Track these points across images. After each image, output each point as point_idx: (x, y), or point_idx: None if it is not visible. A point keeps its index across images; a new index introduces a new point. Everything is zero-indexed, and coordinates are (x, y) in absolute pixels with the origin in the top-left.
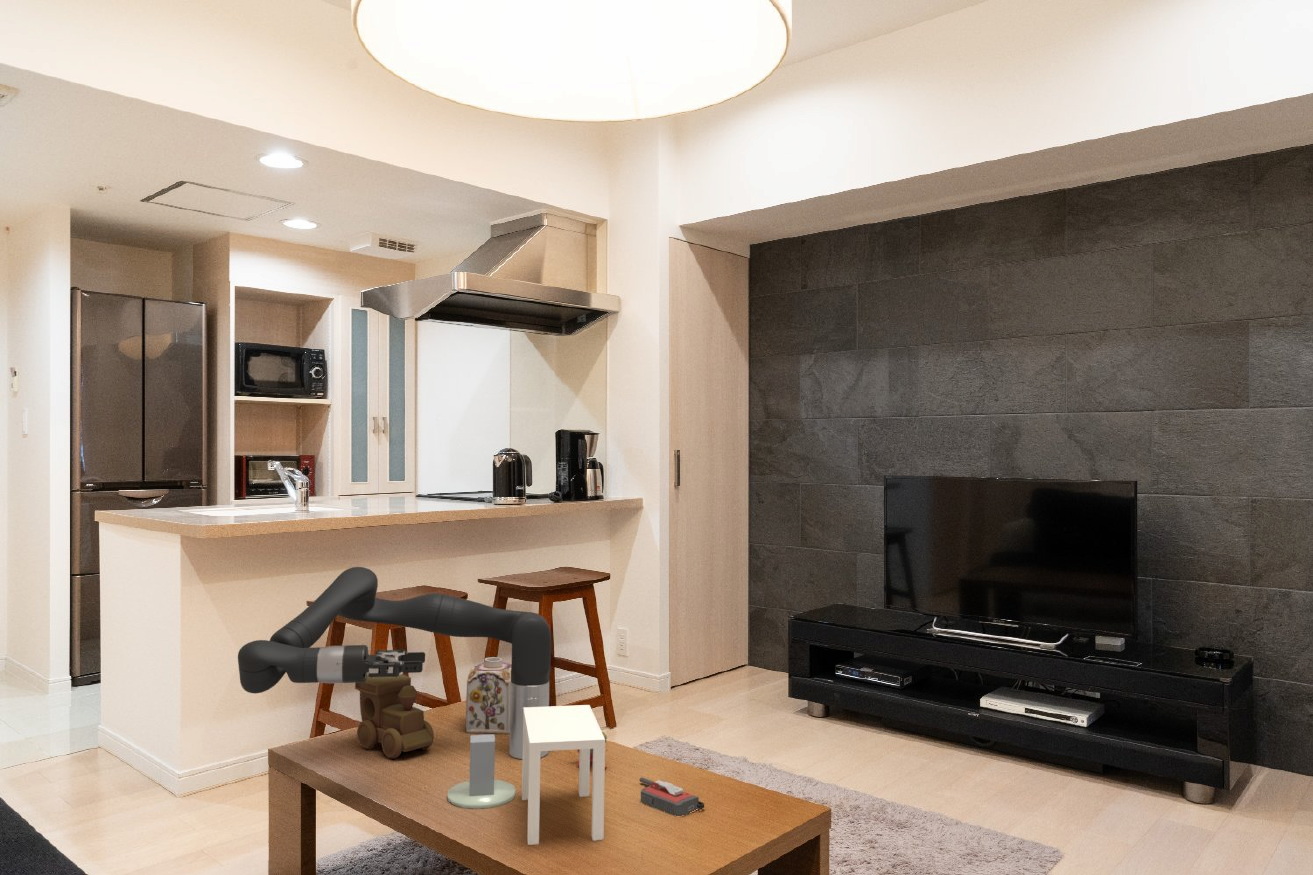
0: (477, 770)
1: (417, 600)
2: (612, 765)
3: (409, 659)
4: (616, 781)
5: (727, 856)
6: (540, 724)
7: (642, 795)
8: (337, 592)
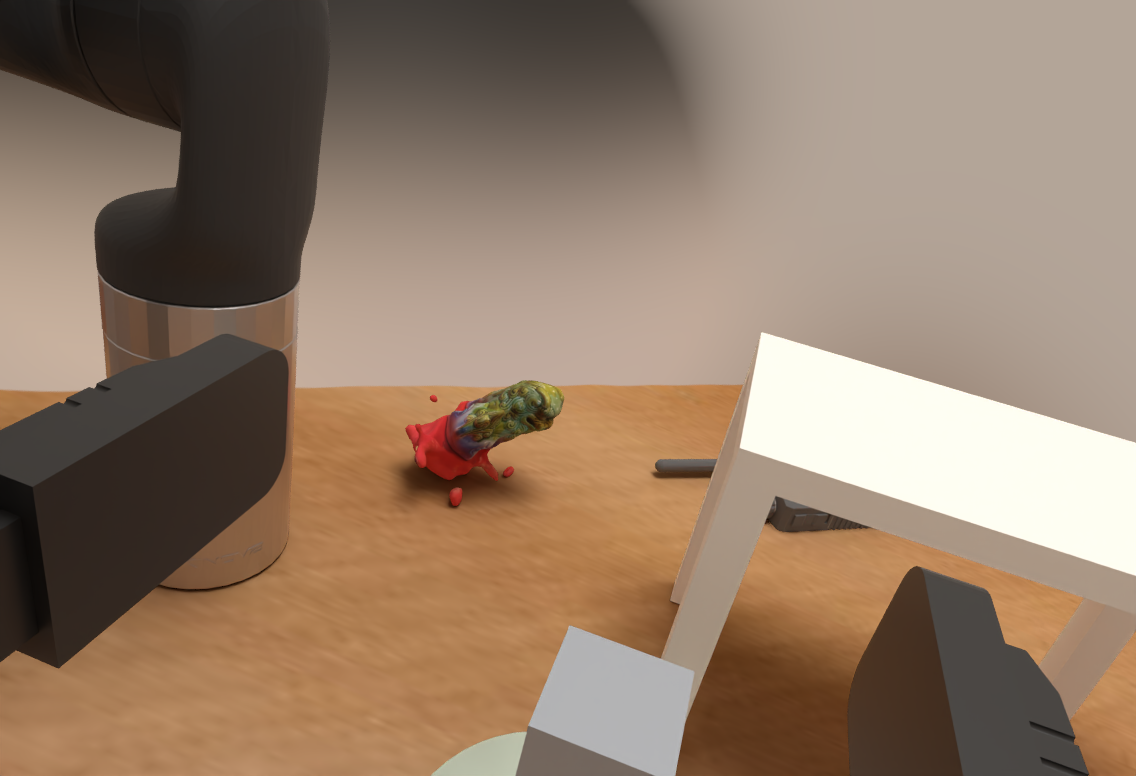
0: None
1: None
2: (493, 452)
3: (87, 574)
4: (616, 499)
5: None
6: (1047, 515)
7: (797, 516)
8: None
